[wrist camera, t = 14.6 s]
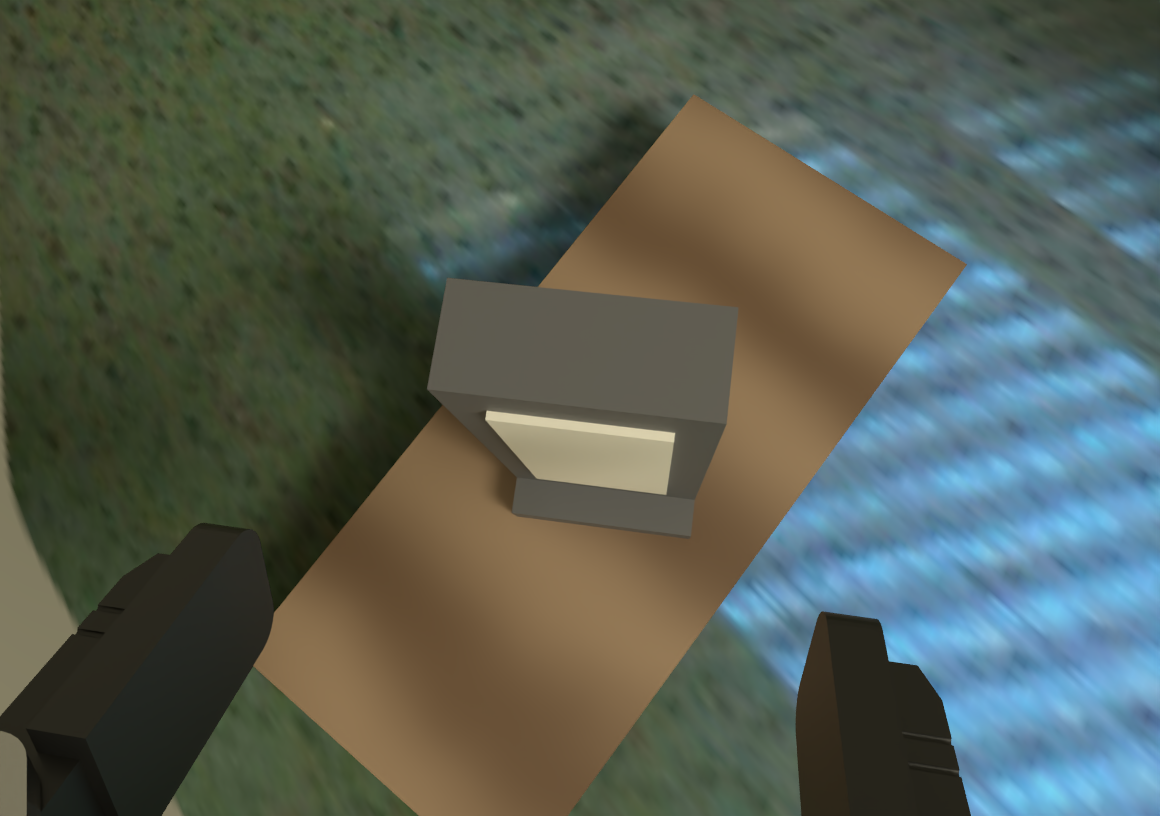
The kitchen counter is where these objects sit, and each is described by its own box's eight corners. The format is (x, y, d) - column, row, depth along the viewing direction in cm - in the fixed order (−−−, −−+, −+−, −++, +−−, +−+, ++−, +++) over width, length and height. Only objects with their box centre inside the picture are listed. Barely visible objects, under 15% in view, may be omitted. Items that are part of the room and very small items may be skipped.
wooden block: (689, 143, 30) (693, 94, 27) (934, 299, 28) (966, 264, 25) (284, 649, 27) (240, 654, 24) (524, 863, 25) (508, 896, 22)
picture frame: (537, 384, 26) (456, 224, 15) (703, 403, 25) (744, 251, 14) (516, 516, 25) (416, 447, 14) (689, 539, 24) (720, 484, 14)
